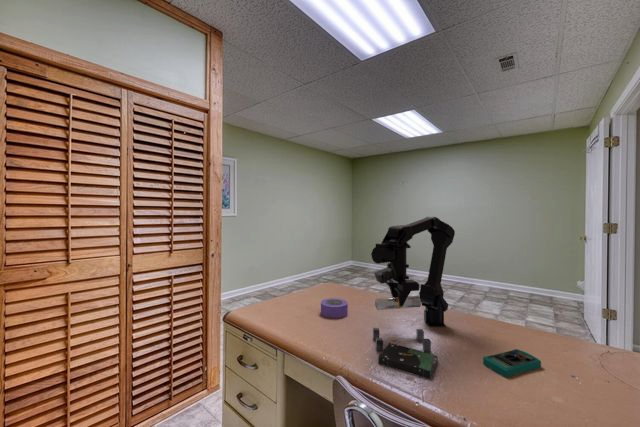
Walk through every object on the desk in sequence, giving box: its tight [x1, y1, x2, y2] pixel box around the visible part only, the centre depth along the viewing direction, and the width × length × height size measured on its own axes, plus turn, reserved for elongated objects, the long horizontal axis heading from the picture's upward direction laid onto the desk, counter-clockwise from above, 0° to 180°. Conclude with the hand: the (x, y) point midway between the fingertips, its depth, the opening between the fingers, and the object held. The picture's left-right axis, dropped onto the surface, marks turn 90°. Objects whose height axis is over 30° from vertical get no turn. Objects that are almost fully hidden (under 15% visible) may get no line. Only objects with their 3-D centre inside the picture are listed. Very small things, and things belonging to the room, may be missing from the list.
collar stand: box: [372, 327, 432, 353], centre depth 94 cm, size 17×10×4 cm, turn 86°
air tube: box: [374, 295, 422, 311], centre depth 101 cm, size 16×4×4 cm, turn 102°
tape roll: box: [320, 297, 349, 319], centre depth 123 cm, size 12×12×5 cm
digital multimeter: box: [482, 348, 542, 378], centre depth 81 cm, size 7×15×3 cm, turn 110°
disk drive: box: [377, 342, 439, 380], centre depth 83 cm, size 10×3×15 cm
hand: (398, 304), depth 101 cm, fingers closed on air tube, 4 cm apart
